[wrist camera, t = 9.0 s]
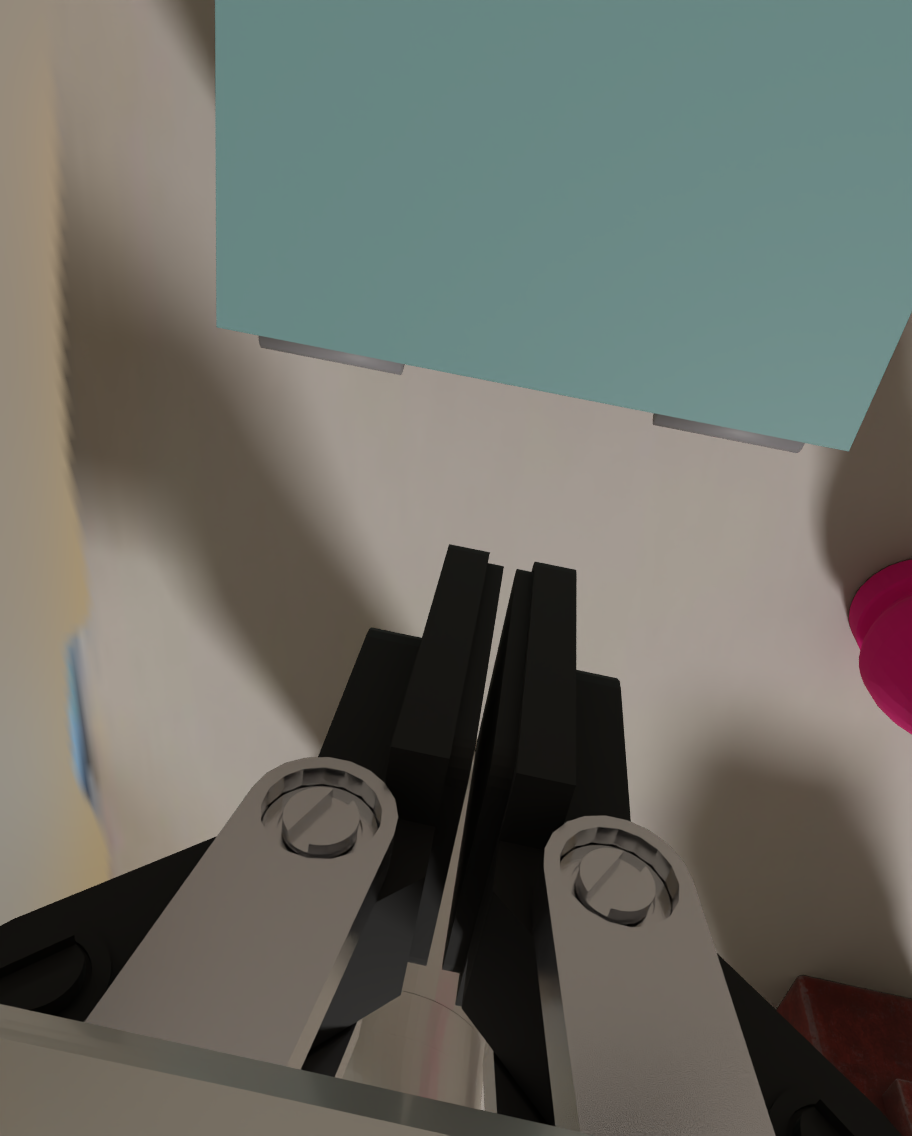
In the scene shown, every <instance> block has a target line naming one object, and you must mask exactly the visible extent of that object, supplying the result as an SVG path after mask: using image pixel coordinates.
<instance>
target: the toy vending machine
mask: <svg viewBox="0 0 912 1136" xmlns="http://www.w3.org/2000/svg"><path fill="white" fill-rule="evenodd" d="M776 1011H778V1012H779V1013H780V1014H781V1015H782V1016H783V1017H784V1018H785V1019H786V1020H787V1021H788V1022H789V1023H790V1024H791V1025H792V1026H793V1027H794V1028H795V1029H796V1030H797V1031H798V1032H799V1033H800V1034H801V1035H802V1036H804V1037H805V1038H806V1039H807V1040H808V1041H809V1042H810V1043H811V1044H812V1045H813V1046H814V1047H815V1048H816V1049H817V1050H818V1051H819V1052H820V1053H821V1054H822V1055H823V1056H824V1057H825V1058H826V1059H827V1060H828V1061H830V1062H831V1063H832V1064H833V1065H834V1066H835V1067H836V1068H837V1069H838V1070H839V1071H840V1072H841V1073H842V1074H843V1075H844V1076H845V1077H846V1078H847V1079H848V1080H849V1081H850V1082H851V1083H852V1084H853V1085H854V1086H856V1087H857V1088H858V1089H859V1090H860V1091H861V1092H862V1093H863V1094H864V1095H865V1096H866V1097H867V1098H868V1099H869V1100H870V1101H871V1102H872V1103H873V1104H874V1105H875V1106H876V1107H877V1108H878V1109H879V1110H880V1111H881V1112H882V1113H883V1114H884V1115H885V1116H886V1117H887V1119H888V1120H889V1121H890V1122H891V1123H892V1124H893V1126H894V1127H895V1128H896V1129H897V1130H898V1131H899V1132H900V1134H901V1135H902V1136H912V999H909V998H905V997H900V996H896V995H891V994H886V993H882V992H877V991H873V990H868V989H863V988H859V987H854V986H850V985H845V984H841V983H836V982H831V981H827V980H822V979H818V978H813V977H809V976H799V977H797V979H796V980H795V982H794V983H793V985H792V986H791V988H790V990H789V991H788V993H787V994H786V996H785V997H784V999H783V1001H782V1002H781V1004H780V1005H779V1007H778V1008H777V1010H776Z"/></svg>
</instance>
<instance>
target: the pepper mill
mask: <svg viewBox="0 0 912 1136" xmlns="http://www.w3.org/2000/svg"><path fill="white" fill-rule="evenodd" d="M849 624H850V628H851V631H852V633H853V635H854V638H855V640H856V642H857V644H858V646H859V648H860V655H859V668H860V673H861V677H862V680H863V682H864V685H865V686H866V688H867V690H868V691H869V693H870V694H871V696H872V698H873V699H874V701H875V702H876V704H877V706H878V707H879V708H880V709H881V710H882V711H883V712H884V713H885V714H886V715H887V716H888V717H889V718H890V719H891V720H892V721H893V722H895V723H896V724H897V725H898V726H900V727H901V728H903V729H904V730H906V731H907V732H909V733H910V734H912V559H911V560H906V561H902V562H899V563H896V564H893V565H890V566H888V567H886V568H885V569H883V570H881V571H880V572H878V573H876V574H874V575H873V576H872V577H871V578H870V579H869V580H867V581H866V582H865V583H864V584H863V585H862V586H861V587H860V589H859V590H858V592H857V593H856V595H855V597H854V599H853V601H852V604H851V606H850V611H849Z"/></svg>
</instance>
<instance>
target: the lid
mask: <svg viewBox="0 0 912 1136" xmlns="http://www.w3.org/2000/svg"><path fill="white" fill-rule="evenodd" d="M215 97H216V317H217V327H218V328H223V329H228V330H233V331H239V332H244V333H249V334H254V335H259V344H260V346H261V347H262V348H266V349H271V350H276V351H281V352H287V353H292V354H297V355H302V356H307V357H312V358H317V359H322V360H327V361H332V362H337V363H342V364H347V365H353V366H358V367H363V368H368V369H373V370H378V371H383V372H388V373H393V374H398V375H401V374H402V372H403V369H404V365H405V364H406V365H411V366H417V367H422V368H427V369H432V370H437V371H442V372H447V373H452V374H457V375H462V376H467V377H473V378H478V379H483V380H488V381H493V382H498V383H503V384H508V385H513V386H518V387H523V388H528V389H534V390H539V391H544V392H549V393H554V394H559V395H564V396H569V397H574V398H579V399H584V400H589V401H595V402H600V403H605V404H610V405H615V406H620V407H625V408H630V409H635V410H640V411H645V412H651V413H654V415H653V425H657V426H662V427H667V428H672V429H677V430H682V431H687V432H693V433H698V434H703V435H708V436H713V437H718V438H723V439H728V440H733V441H738V442H743V443H748V444H753V445H758V446H764V447H769V448H774V449H779V450H784V451H789V452H794V453H798V452H799V451H800V450H801V449H802V447H803V446H804V443H808V444H813V445H818V446H823V447H829V448H834V449H839V450H844V451H849V450H850V448H851V446H852V443H853V441H854V439H855V437H856V434H857V432H858V430H859V428H860V426H861V423H862V421H863V419H864V417H865V414H866V412H867V410H868V408H869V406H870V403H871V401H872V399H873V397H874V395H875V392H876V390H877V388H878V386H879V383H880V381H881V379H882V377H883V375H884V372H885V370H886V368H887V366H888V363H889V361H890V359H891V357H892V355H893V352H894V350H895V348H896V346H897V343H898V341H899V339H900V337H901V335H902V332H903V330H904V328H905V326H906V324H907V321H908V319H909V317H910V315H911V312H912V0H215Z"/></svg>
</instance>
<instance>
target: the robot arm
mask: <svg viewBox="0 0 912 1136" xmlns="http://www.w3.org/2000/svg"><path fill="white" fill-rule="evenodd" d="M489 554H490V552H485V551H480V550H475V549H470V548H465V547H460V546H455V545H450V544H449V547H448V550H447V554H446V557H445V561H444V564H443V568H442V571H441V574H440V578H439V581H438V585H437V588H436V592H435V595H434V599H433V602H432V605H431V609H430V612H429V616H428V619H427V623H426V626H425V630H424V633H423V636H422V638H420V637H415V636H410V635H405V634H400V633H395V632H391V631H386V630H381V629H376V628H370V629H369V631H368V633H367V635H366V638H365V640H364V643H363V645H362V648H361V650H360V653H359V655H358V658H357V660H356V663H355V665H354V668H353V670H352V673H351V675H350V678H349V680H348V683H347V686H346V688H345V691H344V693H343V696H342V698H341V701H340V703H339V706H338V708H337V711H336V713H335V716H334V718H333V721H332V723H331V726H330V728H329V731H328V733H327V736H326V739H325V741H324V744H323V746H322V749H321V751H320V754H319V756H318V757H307V758H302V759H298V760H294V761H290V762H286V763H284V764H282V765H280V766H278V767H276V768H274V769H273V770H271V771H269V772H267V773H266V774H265V775H264V776H263V777H262V778H261V779H260V780H259V781H258V782H257V783H256V784H255V785H254V786H253V787H252V788H251V789H250V791H249V792H248V794H247V795H246V796H245V798H244V799H243V801H242V802H241V803H240V805H239V806H238V808H237V809H236V810H235V812H234V813H233V815H232V816H231V817H230V819H229V820H228V822H227V823H226V824H225V826H224V827H223V829H222V830H221V831H220V833H219V834H218V836H216V837H214V838H212V839H209V840H207V841H204V842H202V843H199V844H197V845H194V846H192V847H189V848H187V849H185V850H182V851H180V852H177V853H175V854H172V855H170V856H167V857H165V858H162V859H160V860H157V861H155V862H153V863H150V864H148V865H145V866H143V867H140V868H138V869H135V870H133V871H130V872H128V873H125V874H123V875H121V876H118V877H116V878H113V879H111V880H108V881H106V882H103V883H101V884H99V885H97V886H94V887H91V888H89V889H86V890H84V891H82V892H79V893H76V894H74V895H71V896H69V897H67V898H64V899H62V900H59V901H57V902H54V903H52V904H49V905H47V906H44V907H42V908H39V909H37V910H35V911H32V912H30V913H28V914H25V915H22V916H20V917H17V918H15V919H13V920H11V921H9V922H7V923H5V924H3V925H2V926H0V1136H902V1135H901V1134H900V1132H899V1131H898V1130H897V1129H896V1128H895V1127H894V1126H893V1124H892V1123H891V1122H890V1121H889V1120H888V1119H887V1117H886V1116H885V1115H884V1114H883V1113H882V1112H881V1111H880V1110H879V1109H878V1108H877V1107H876V1106H875V1105H874V1104H873V1103H872V1102H871V1101H870V1100H869V1099H868V1098H867V1097H866V1096H865V1095H864V1094H863V1093H862V1092H861V1091H860V1090H859V1089H858V1088H857V1087H856V1086H854V1085H853V1084H852V1083H851V1082H850V1081H849V1080H848V1079H847V1078H846V1077H845V1076H844V1075H843V1074H842V1073H841V1072H840V1071H839V1070H838V1069H837V1068H836V1067H835V1066H834V1065H833V1064H832V1063H831V1062H830V1061H828V1060H827V1059H826V1058H825V1057H824V1056H823V1055H822V1054H821V1053H820V1052H819V1051H818V1050H817V1049H816V1048H815V1047H814V1046H813V1045H812V1044H811V1043H810V1042H809V1041H808V1040H807V1039H806V1038H805V1037H804V1036H802V1035H801V1034H800V1033H799V1032H798V1031H797V1030H796V1029H795V1028H794V1027H793V1026H792V1025H791V1024H790V1023H789V1022H788V1021H787V1020H786V1019H785V1018H784V1017H783V1016H782V1015H781V1014H780V1013H779V1012H778V1011H776V1010H775V1009H774V1008H773V1007H772V1006H771V1005H770V1004H769V1003H768V1002H767V1001H766V1000H765V999H764V998H763V997H762V996H761V995H760V994H759V993H758V992H757V991H756V990H755V989H754V988H753V987H752V986H750V985H749V984H748V983H747V982H746V981H745V980H744V979H743V978H742V977H741V976H740V975H739V974H738V973H737V972H736V971H735V970H734V969H733V968H732V967H731V966H730V965H729V964H728V963H727V962H726V961H724V960H723V959H722V958H721V957H720V956H719V955H718V954H717V952H716V949H715V946H714V943H713V940H712V937H711V934H710V931H709V928H708V925H707V921H706V918H705V915H704V912H703V909H702V906H701V903H700V900H699V897H698V893H697V890H696V887H695V884H694V881H693V879H692V877H691V875H690V873H689V871H688V869H687V867H686V865H685V863H684V861H683V860H682V859H681V858H680V857H679V856H678V854H677V853H676V852H675V851H674V850H673V849H672V848H671V846H670V845H669V844H668V843H666V842H665V841H664V840H662V839H661V838H659V837H658V836H657V835H655V834H654V833H653V832H651V831H650V830H648V829H646V828H644V827H641V826H639V825H637V824H635V823H633V822H631V820H630V806H629V793H628V779H627V766H626V752H625V739H624V725H623V712H622V698H621V687H620V681H619V680H618V679H617V678H613V677H608V676H603V675H599V674H594V673H589V672H584V671H579V670H576V570H574V569H569V568H564V567H559V566H554V565H549V564H544V563H539V562H534V565H533V568H532V572H529V571H524V570H519V569H517V570H516V573H515V577H514V581H513V586H512V590H511V594H510V599H509V603H508V608H507V612H506V616H505V621H504V625H503V630H502V634H501V638H500V643H499V647H498V652H497V656H496V660H495V665H494V669H493V674H492V678H491V682H490V687H489V691H488V696H487V700H486V704H485V709H484V713H483V718H482V722H481V727H480V731H479V736H478V741H477V747H476V752H475V751H474V750H475V745H476V738H477V732H478V726H479V720H480V713H481V707H482V701H483V694H484V688H485V682H486V675H487V669H488V663H489V657H490V650H491V644H492V638H493V631H494V625H495V619H496V612H497V606H498V600H499V593H500V587H501V581H502V575H503V568H504V566H499V565H494V564H489V563H488V559H489ZM483 1086H484V1107H485V1111H483V1110H480V1109H481V1098H482V1088H483Z"/></svg>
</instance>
